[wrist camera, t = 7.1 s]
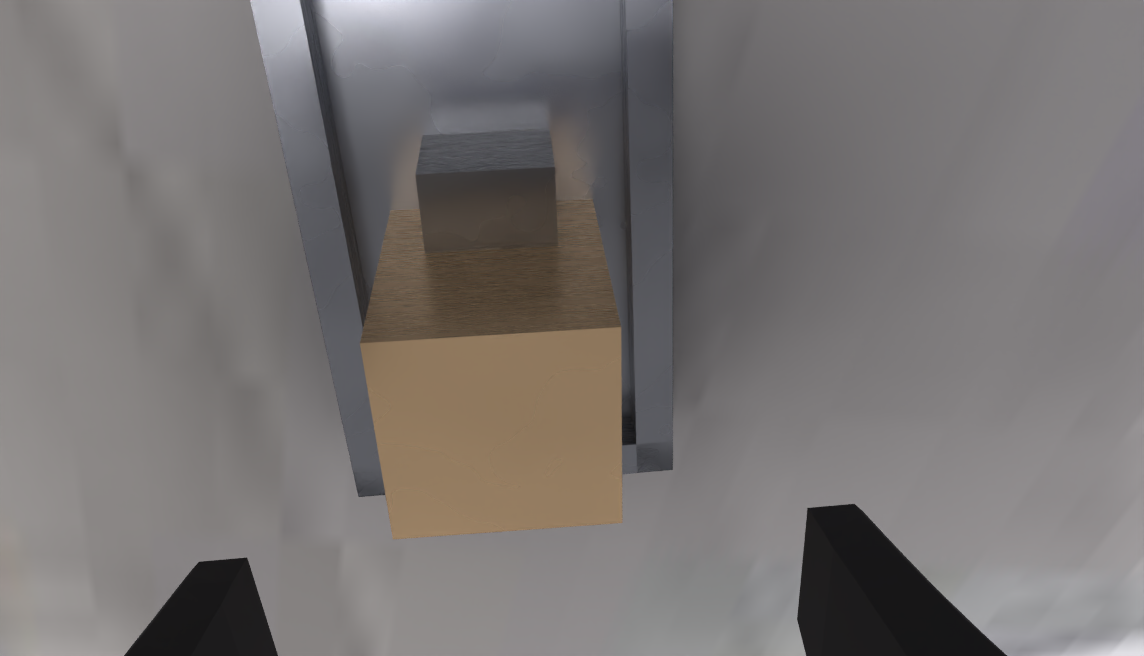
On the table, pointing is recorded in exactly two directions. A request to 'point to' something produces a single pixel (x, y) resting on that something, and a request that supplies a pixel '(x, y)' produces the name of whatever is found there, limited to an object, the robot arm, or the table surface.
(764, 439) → the table surface
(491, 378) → the wooden block with cap
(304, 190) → the tray
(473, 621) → the table surface
